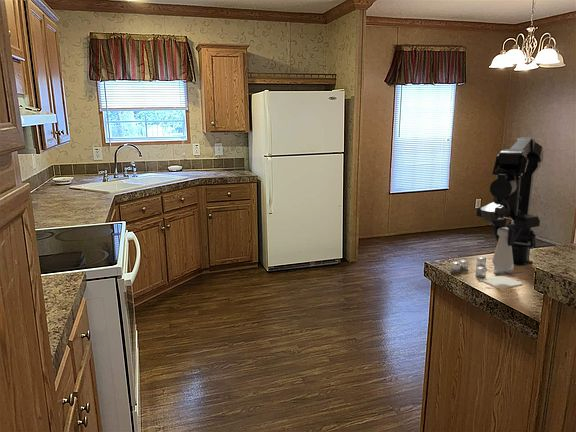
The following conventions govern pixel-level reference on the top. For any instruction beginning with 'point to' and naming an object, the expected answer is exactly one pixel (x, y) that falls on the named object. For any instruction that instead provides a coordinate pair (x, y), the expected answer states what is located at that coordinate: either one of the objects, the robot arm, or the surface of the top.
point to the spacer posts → (480, 268)
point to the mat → (501, 282)
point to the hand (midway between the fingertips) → (504, 243)
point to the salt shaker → (503, 251)
